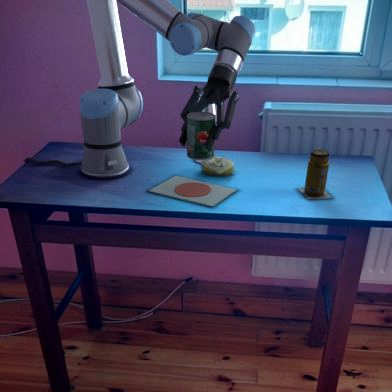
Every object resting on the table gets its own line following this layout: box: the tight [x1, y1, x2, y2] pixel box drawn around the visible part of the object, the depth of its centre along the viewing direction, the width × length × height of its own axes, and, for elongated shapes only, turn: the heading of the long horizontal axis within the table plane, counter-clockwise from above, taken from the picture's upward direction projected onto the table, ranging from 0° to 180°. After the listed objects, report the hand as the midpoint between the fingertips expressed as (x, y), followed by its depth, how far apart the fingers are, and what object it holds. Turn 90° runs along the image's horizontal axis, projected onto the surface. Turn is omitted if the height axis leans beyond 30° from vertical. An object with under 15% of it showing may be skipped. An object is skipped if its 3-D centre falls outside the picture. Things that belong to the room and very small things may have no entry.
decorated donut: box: [200, 156, 236, 177], centre depth 172 cm, size 10×11×4 cm
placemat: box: [147, 175, 238, 208], centre depth 160 cm, size 22×15×1 cm
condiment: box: [298, 149, 332, 200], centre depth 155 cm, size 7×8×12 cm
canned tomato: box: [186, 112, 216, 161], centre depth 150 cm, size 8×8×11 cm
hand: (194, 146), depth 149 cm, fingers closed on canned tomato, 8 cm apart
